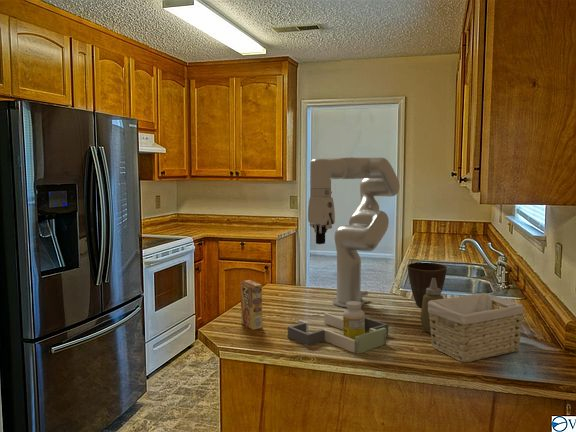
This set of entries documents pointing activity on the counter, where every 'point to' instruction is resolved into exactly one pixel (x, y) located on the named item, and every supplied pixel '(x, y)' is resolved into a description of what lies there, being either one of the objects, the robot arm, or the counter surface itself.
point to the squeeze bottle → (432, 294)
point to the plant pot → (425, 278)
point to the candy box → (251, 304)
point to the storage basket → (475, 326)
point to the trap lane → (364, 342)
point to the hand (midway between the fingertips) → (320, 243)
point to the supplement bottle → (353, 320)
